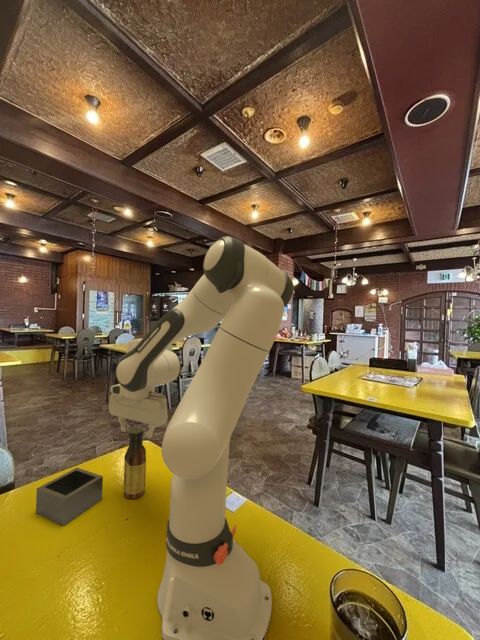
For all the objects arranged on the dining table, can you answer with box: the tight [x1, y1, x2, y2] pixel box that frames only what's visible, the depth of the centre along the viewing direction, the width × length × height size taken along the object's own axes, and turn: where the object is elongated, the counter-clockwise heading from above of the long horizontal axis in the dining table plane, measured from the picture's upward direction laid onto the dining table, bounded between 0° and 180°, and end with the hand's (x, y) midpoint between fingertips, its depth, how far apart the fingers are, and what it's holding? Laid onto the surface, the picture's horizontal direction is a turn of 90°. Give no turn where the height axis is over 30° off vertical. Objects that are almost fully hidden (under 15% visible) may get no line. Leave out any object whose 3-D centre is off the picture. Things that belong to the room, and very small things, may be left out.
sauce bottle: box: [123, 427, 147, 499], centre depth 86 cm, size 7×6×20 cm
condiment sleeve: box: [35, 467, 104, 527], centre depth 80 cm, size 11×12×7 cm
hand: (136, 434), depth 86 cm, fingers open, 8 cm apart
